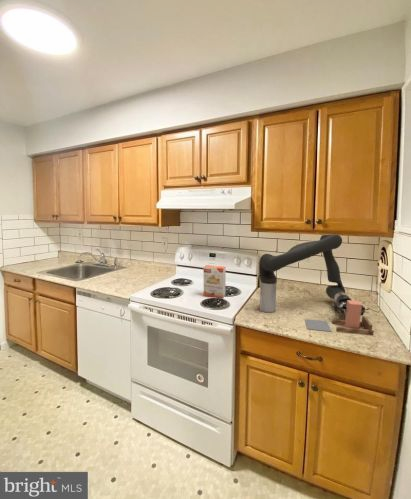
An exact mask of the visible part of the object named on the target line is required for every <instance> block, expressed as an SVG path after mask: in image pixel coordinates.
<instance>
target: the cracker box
mask: <svg viewBox="0 0 411 499" xmlns="http://www.w3.org/2000/svg"><path fill="white" fill-rule="evenodd" d="M226 270H227V269H226V266H223V265H210V264H206V265H204V266H203V296H204V297H210V298H215V297H219V298H218V299H224V298H225V297H226V285H227V284H226Z"/></svg>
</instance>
